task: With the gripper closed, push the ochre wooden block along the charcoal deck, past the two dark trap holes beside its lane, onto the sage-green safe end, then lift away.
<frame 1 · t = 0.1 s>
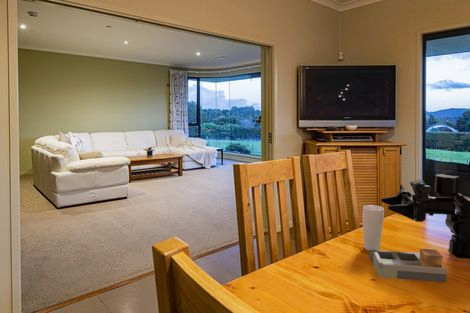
hand: (384, 203, 115), 17 cm above the table, tool horizontal, fingers open, 9 cm apart
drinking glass: (371, 249, 118), on the table
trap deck: (404, 268, 103), on the table
ochre block: (430, 266, 99), point 2 cm above the table, touching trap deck
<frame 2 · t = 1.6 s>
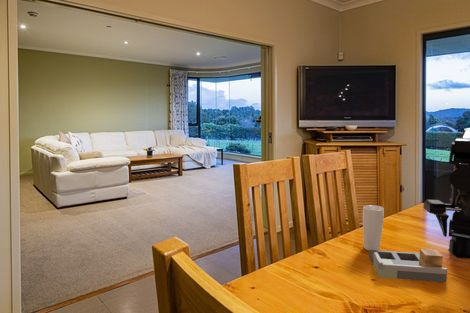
hand: (460, 237, 96), 12 cm above the table, tool pointing down, fingers open, 8 cm apart
nothing on the table moved.
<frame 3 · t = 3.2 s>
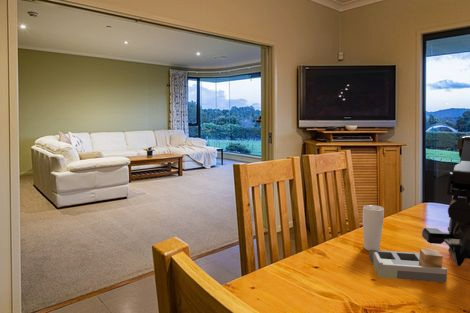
hand: (458, 265, 97), 4 cm above the table, tool pointing down, fingers closed
nothing on the table moved.
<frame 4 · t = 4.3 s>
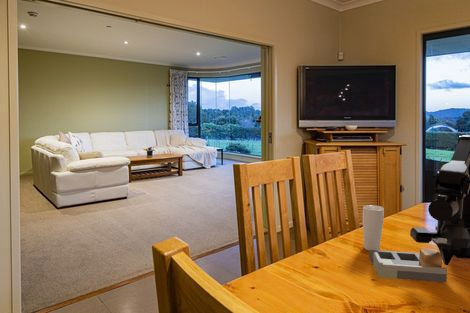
hand: (445, 264, 98), 4 cm above the table, tool pointing down, fingers closed
ochre block: (429, 266, 99), point 3 cm above the table, touching gripper
everything else where it was.
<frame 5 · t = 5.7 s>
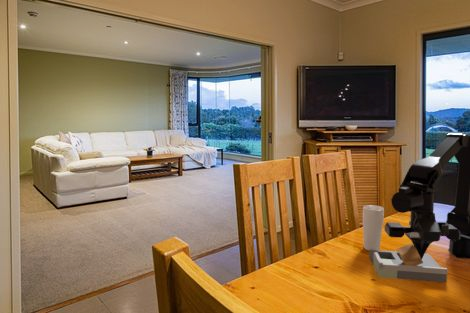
hand: (419, 258, 99), 5 cm above the table, tool pointing down, fingers closed, pressing on ochre block
ochre block: (412, 262, 100), point 4 cm above the table, tilted 27°, touching gripper
everything else where it was.
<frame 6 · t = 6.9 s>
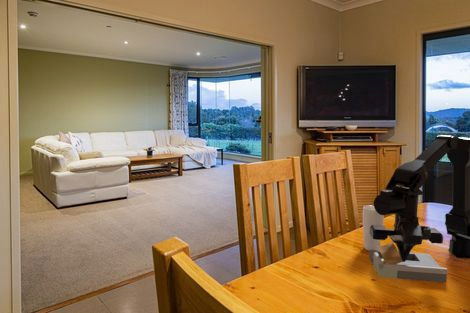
hand: (403, 261, 100), 4 cm above the table, tool pointing down, fingers closed
ochre block: (393, 260, 101), point 4 cm above the table, tilted 27°, touching gripper
everything else where it was.
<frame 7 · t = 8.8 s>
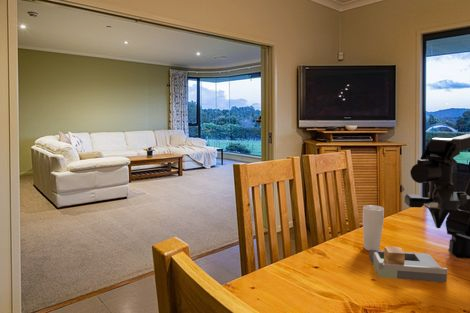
hand: (437, 227, 105), 12 cm above the table, tool pointing down, fingers closed
ochre block: (393, 264, 101), point 2 cm above the table, touching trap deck
everything else where it was.
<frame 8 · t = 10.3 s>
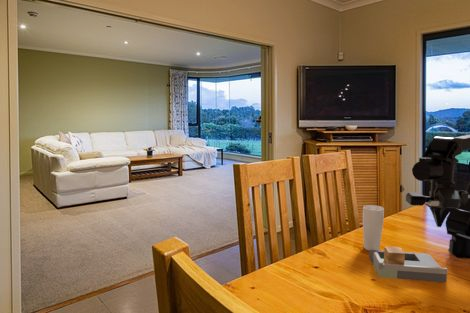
hand: (438, 226, 105), 12 cm above the table, tool pointing down, fingers closed
nothing on the table moved.
at the end: ochre block 1.6 cm from the target spot on the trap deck, point 2.5 cm above the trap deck's base; ochre block tilted 0°; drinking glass moved 0.2 cm from its start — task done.
